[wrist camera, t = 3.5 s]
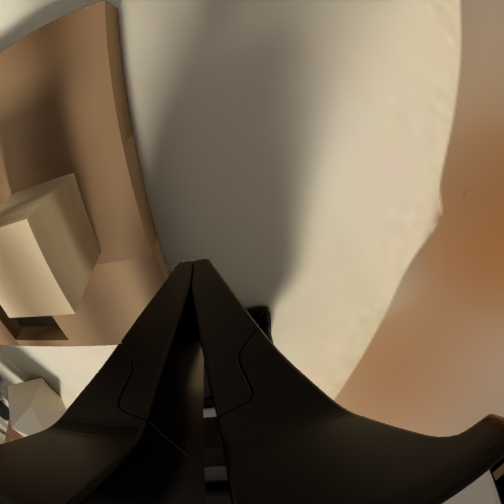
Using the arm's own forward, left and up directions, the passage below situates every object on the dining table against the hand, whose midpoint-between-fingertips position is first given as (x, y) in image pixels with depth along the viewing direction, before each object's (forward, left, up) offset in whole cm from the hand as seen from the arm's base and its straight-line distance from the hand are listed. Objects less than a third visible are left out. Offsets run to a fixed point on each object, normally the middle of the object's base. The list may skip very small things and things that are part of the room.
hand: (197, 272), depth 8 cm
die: (+25, +21, -8) cm, 33 cm away
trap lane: (+19, 0, -8) cm, 20 cm away
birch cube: (+8, 0, -6) cm, 10 cm away
